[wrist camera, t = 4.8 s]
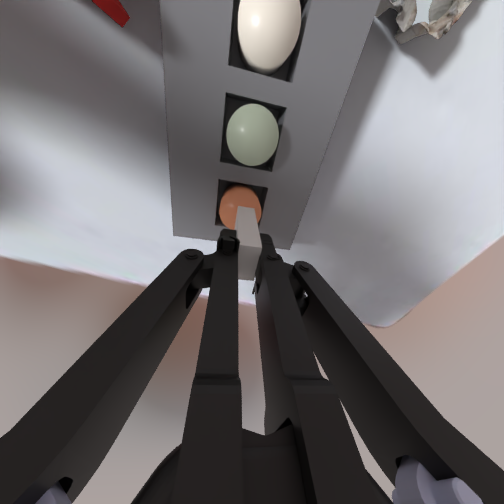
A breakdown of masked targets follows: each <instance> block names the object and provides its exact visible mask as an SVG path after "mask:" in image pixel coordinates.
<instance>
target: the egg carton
mask: <svg viewBox="0 0 504 504" xmlns="http://www.w3.org/2000/svg"><path fill="white" fill-rule="evenodd" d="M471 2H472V0H433V1H432V3H431V5H430V9H429V24H427V23H426V22H421V23H417V24H415V25H413V26H412V24H413V22H414V21H415V17H416V14H417V7H416V0H396V1H395V2H394V3H392V2H391V0H380V3H379V5H378V8H377V11H376V14H375V16H376V17H378V16H380V15H381V14H382V13H383V12H385V11H386V10H387V9H389V8H393V9H395V10H396V11H397V12H398V15H397V17H396V21H397V23H398V25H399V26H398V30H397V32H396V35H395V39H396V40H397V42H398V43H399V44H400V45H401V44H404V43H406V42H408V41H410V40H412V39H414V38H415V37H420V36H422V35H425V34H430V35H432V36H433V37H435V38H436V39H440V38H441V37H442V36H443V34H446V33H447V32H448V31H449V29H450V27H451V26H452V25H453V24H454V23H455V22H456V21H457V20H458V19H459V18H460V16H461V15H462V14H463V12H464V10H465V9H466V8H467V7H468V6H469V5H470V3H471Z"/></svg>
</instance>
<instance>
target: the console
mask: <svg viewBox="0 0 504 504" xmlns="http://www.w3.org/2000/svg"><path fill="white" fill-rule="evenodd" d="M299 1H300V7H301V26H300V32H299V36H298V39H297V42H296V44H295V47H294V49H293V50H292V52H291V54H290V55H289V56H288V58H287V59H286V60H285V62H284V63H283V64H282V66H281V67H280V68H279V69H278V70H277V71H276V72H275V73H274V74H272V75H270V76H265V75H261V74H258V73H254V72H251V71H249V70H248V69H247V68H246V66H245V65H244V63H243V61H242V59H241V56H240V53H239V49H238V11H239V5H240V0H160V16H161V34H162V51H163V68H164V85H165V102H166V119H167V136H168V153H169V170H170V187H171V204H172V222H173V236H180V237H188V238H196V239H204V240H213V241H218V238H219V237H220V231H221V230H222V229H229V228H228V227H226V226H225V225H224V224H223V222H222V221H221V218H220V215H219V209H220V203H221V198H222V195H223V192H224V191H225V190H226V188H227V187H229V186H230V185H232V184H235V183H244V184H247V185H249V186H251V187H252V188H253V189H254V190H255V192H256V194H257V196H258V199H259V203H260V206H261V218H260V220H259V222H258V223H257V224H258V229H259V233H264V234H269V235H270V236H271V237H272V240H273V244H274V247H275V248H279V249H287V250H290V248H291V245H292V242H293V240H294V237H295V234H296V231H297V229H298V226H299V223H300V220H301V218H302V215H303V212H304V209H305V207H306V204H307V201H308V198H309V196H310V193H311V190H312V187H313V185H314V182H315V179H316V176H317V174H318V171H319V168H320V165H321V163H322V160H323V157H324V154H325V151H326V149H327V146H328V143H329V140H330V138H331V135H332V132H333V129H334V127H335V124H336V121H337V118H338V116H339V113H340V110H341V107H342V105H343V102H344V99H345V96H346V94H347V91H348V88H349V85H350V83H351V80H352V77H353V74H354V72H355V69H356V66H357V63H358V61H359V58H360V55H361V52H362V49H363V47H364V44H365V41H366V38H367V36H368V33H369V30H370V27H371V25H372V22H373V19H374V16H375V14H376V11H377V8H378V5H379V3H380V0H299ZM247 104H258V105H261V106H263V107H265V108H266V109H268V110H269V111H270V112H271V113H272V115H273V116H274V118H275V120H276V122H277V125H278V131H279V139H278V144H277V147H276V150H275V152H274V153H273V155H272V156H271V157H270V158H269V159H268V160H267V161H266V162H264V163H262V164H260V165H256V166H248V165H245V164H242V163H241V162H239V161H238V160H237V159H236V158H235V157H234V156H233V155H232V153H231V152H230V150H229V147H228V144H227V137H226V132H227V126H228V123H229V120H230V118H231V116H232V115H233V114H234V112H235V111H236V110H238V109H239V108H240V107H242V106H244V105H247Z"/></svg>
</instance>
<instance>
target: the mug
mask: <svg viewBox="0 0 504 504" xmlns="http://www.w3.org/2000/svg"><path fill="white" fill-rule="evenodd" d="M92 2H94V3H95V4H96V5H97V6H98V7H99V8H100V9H102V10H103V11H104V12H105V13H106V14H107V15H109V16H110V17H111V18H112V19H113V20H114V21H115V22H117V23H118V24H119V25H120V26H121V27H123V26H124V25H125V24H126V22H127V21H128V20H129V19H130V17H129V15H128V14H127V12H126V11H125V9H124V8H123V6H122V5H121V3H120V2H119V0H92Z"/></svg>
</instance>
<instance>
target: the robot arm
mask: <svg viewBox="0 0 504 504" xmlns="http://www.w3.org/2000/svg"><path fill="white" fill-rule="evenodd" d="M254 278H256V281H255V284H254V288H253V292H252V294H254V292H255V299H256V309H257V319H258V330H259V340H260V350H261V359H262V360H261V361H262V371H263V381H264V392H265V403H266V409H265V418H264V419H265V420H264V427H265V435H261V434H257V433H255V432H252V431H249V430H246V429H243V428H242V400H241V399H242V398H241V397H242V396H241V381H240V378H239V372H238V279H241V280H252V281H254ZM208 287H210V292H209V297H208V304H207V309H206V315H205V321H204V327H203V333H202V338H201V344H200V350H199V355H198V361H197V367H196V373H195V377H194V380H193V384H192V389H191V394H190V399H189V405H188V411H187V417H186V422H185V428H184V433H183V439H182V443H181V444H180V445H179V446H178V447H176V448H175V449H174V450H173V451H172V452H171V453H170V454H169V455H167V456H166V458H165V459H164V460H163V461H162V462H161V463H160V464H159V466H158V467H157V468H156V469H155V471H154V472H153V474H152V475H151V476H150V478H149V479H148V481H147V482H146V483H145V485H144V486H143V488H142V489H141V490H140V491H139V493H138V494H137V496H136V497H135V498H134V500H133V501H132V503H131V504H504V471H503V470H502V469H501V468H500V467H499V466H498V465H497V464H495V463H494V462H493V461H492V460H491V459H490V458H489V457H487V456H486V455H485V454H484V453H483V452H482V451H481V450H479V449H478V448H477V447H476V446H475V445H474V444H473V443H472V442H470V441H469V440H468V439H467V438H466V437H465V436H464V435H462V434H461V433H460V432H459V431H458V430H457V429H456V428H455V427H453V426H452V425H451V424H450V423H449V422H448V421H447V420H445V419H444V418H443V416H442V415H441V414H440V413H439V412H438V411H437V409H436V408H435V407H434V406H433V405H432V404H431V403H430V401H429V400H428V399H427V398H426V397H425V396H424V395H423V393H422V392H421V391H420V390H419V389H418V387H417V386H416V385H415V384H414V383H413V382H412V381H411V379H410V378H409V377H408V376H407V375H406V374H405V373H404V371H403V370H402V369H401V368H400V367H399V365H398V364H397V363H396V362H395V361H394V360H393V359H392V357H391V356H390V355H389V354H388V353H387V352H386V350H385V349H384V348H383V347H382V346H381V345H380V344H379V342H378V341H377V340H376V339H375V338H374V337H373V335H372V334H371V333H370V332H369V331H368V330H367V329H366V327H365V326H364V325H363V324H362V323H361V321H360V320H359V319H358V318H357V317H356V316H355V315H354V313H353V312H352V311H351V310H350V309H349V308H348V306H347V305H346V304H345V303H344V302H343V301H342V299H341V298H340V297H339V296H338V295H337V294H336V293H335V291H334V290H333V289H332V288H331V287H330V286H329V284H328V283H327V282H326V281H325V280H324V279H323V277H322V276H321V275H320V274H319V273H318V272H317V271H316V269H315V268H314V267H313V266H312V265H311V264H309V263H307V262H304V261H297V262H295V264H294V265H290V264H287V263H285V262H283V259H282V257H281V256H280V255H279V254H277V253H276V250H275V247H274V244H273V240H272V237H271V236H270V235H269V234H264V233H259V229H258V224H257V219H256V214H255V209H254V208H249V207H242V206H238V209H237V215H236V222H235V229H234V230H232V229H222V230H221V231H220V237H219V238H218V241H217V251H216V252H215V253H213V254H209V255H203V253H202V252H201V251H199V250H197V249H187V250H184V251H182V252H181V253H180V254H179V255H178V256H177V257H176V258H175V259H174V260H173V261H172V262H171V263H170V264H169V265H168V266H167V267H166V268H165V269H164V270H163V271H162V272H161V274H160V275H159V276H158V277H157V278H156V279H155V280H154V281H153V282H152V283H151V284H150V285H149V286H148V287H147V288H146V289H145V290H144V291H143V292H142V293H141V295H140V296H138V298H137V299H136V300H135V301H134V302H133V303H132V304H131V305H130V306H129V307H128V308H127V309H126V310H125V311H124V312H123V313H122V314H121V315H120V316H119V317H118V318H117V319H116V320H115V322H114V323H113V324H112V325H111V326H110V327H109V328H108V329H107V330H106V331H105V332H104V333H103V334H102V335H101V336H100V337H99V338H98V339H97V340H96V341H95V342H94V343H93V344H92V345H91V347H90V348H89V349H88V350H87V351H86V352H85V353H84V354H83V355H82V356H81V357H80V358H79V359H78V360H77V361H76V362H75V363H74V364H73V365H72V366H71V367H70V368H69V369H68V370H67V372H66V373H65V374H64V375H63V376H62V377H61V378H60V379H59V380H58V381H57V382H56V383H55V384H54V385H53V386H52V387H51V388H50V389H49V390H48V391H47V393H46V394H44V396H43V397H42V398H41V399H40V400H39V401H38V402H37V403H36V404H35V405H34V406H33V407H32V408H31V409H30V410H29V411H28V412H27V413H26V414H25V415H24V416H23V417H22V418H21V420H20V421H19V422H18V423H17V424H16V425H15V426H14V427H13V428H12V429H11V430H10V431H9V432H7V433H6V434H5V435H4V436H2V437H1V438H0V504H72V503H73V502H74V500H75V499H76V497H78V495H79V494H80V493H81V491H82V490H83V488H84V487H85V486H86V484H87V483H88V481H89V480H90V479H91V477H92V476H93V474H94V473H95V472H96V470H97V469H98V467H99V466H100V464H101V463H102V461H103V459H104V458H105V456H106V455H107V453H108V451H109V450H110V448H111V446H112V445H113V443H114V442H115V440H116V438H117V436H118V435H119V433H120V431H121V430H122V428H123V426H124V424H125V422H126V421H127V419H128V417H129V416H130V414H131V412H132V410H133V409H134V407H135V405H136V403H137V402H138V400H139V398H140V397H141V395H142V393H143V391H144V390H145V388H146V386H147V384H148V383H149V381H150V379H151V378H152V376H153V374H154V372H155V371H156V369H157V367H158V365H159V364H160V362H161V360H162V359H163V357H164V355H165V353H166V352H167V350H168V348H169V346H170V345H171V343H172V341H173V340H174V338H175V336H176V334H177V333H178V331H179V329H180V327H181V326H182V324H183V322H184V320H185V319H186V317H187V315H188V314H189V312H190V310H191V308H192V306H193V305H194V303H195V301H196V300H197V298H198V296H199V294H200V293H201V291H202V288H208ZM305 292H306V293H307V295H308V297H306V296H305V294H304V293H305ZM313 352H314V353H313ZM314 354H315V355H316V357H317V359H318V361H319V363H320V364H321V366H322V368H323V370H324V372H325V373H326V375H327V377H328V379H329V380H327V379H325V378H323V376H322V375H321V373H320V371H319V368H318V365H317V362H316V359H315V356H314ZM340 401H341V402H342V404H343V406H344V407H345V410H346V411H347V413H348V415H349V417H350V419H351V420H352V422H353V424H354V426H355V428H356V429H357V431H358V433H359V435H360V436H361V438H362V440H363V441H364V443H365V445H366V446H367V448H368V450H369V452H370V453H371V455H372V456H373V457H374V459H375V460H376V462H377V463H378V465H379V466H380V468H381V469H382V471H383V472H384V473H385V475H386V476H387V477H388V478H389V480H390V481H391V482H392V484H393V485H394V486H395V488H396V489H394V490H393V492H392V499H393V502H392V501H391V500H390V498H389V497H388V496H387V495H386V494H385V492H384V491H383V490H382V489H381V487H380V486H379V485H378V484H377V482H376V481H375V480H374V479H373V478H372V476H371V475H370V474H369V473H368V472H367V470H366V469H365V467H364V464H363V462H362V459H361V456H360V453H359V451H358V448H357V445H356V443H355V440H354V437H353V434H352V432H351V429H350V426H349V424H348V421H347V418H346V416H345V413H344V411H343V408H342V405H341V402H340Z"/></svg>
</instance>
